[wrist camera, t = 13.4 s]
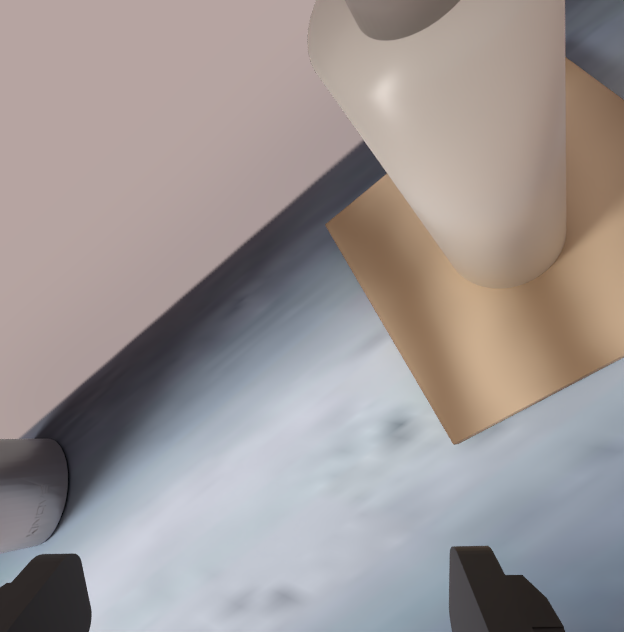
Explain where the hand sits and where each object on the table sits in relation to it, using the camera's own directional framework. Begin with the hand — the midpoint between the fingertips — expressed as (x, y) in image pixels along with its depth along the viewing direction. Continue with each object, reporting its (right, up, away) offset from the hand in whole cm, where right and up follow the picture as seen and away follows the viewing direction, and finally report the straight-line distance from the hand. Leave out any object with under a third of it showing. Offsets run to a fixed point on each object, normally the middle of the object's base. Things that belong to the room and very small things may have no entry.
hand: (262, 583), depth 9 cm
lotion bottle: (+11, +10, +11) cm, 18 cm away
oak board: (+11, +10, +12) cm, 19 cm away
